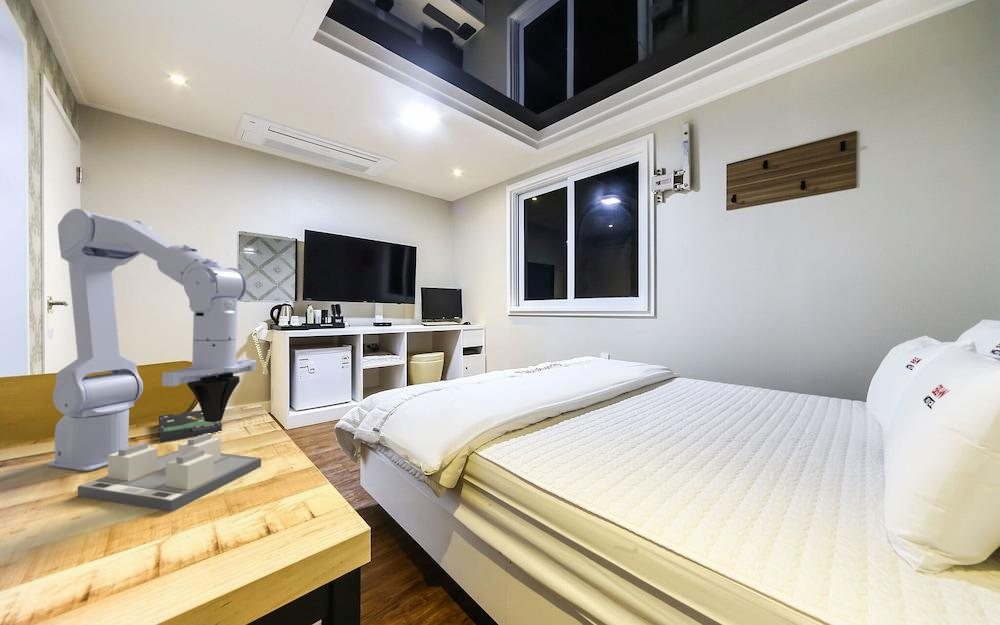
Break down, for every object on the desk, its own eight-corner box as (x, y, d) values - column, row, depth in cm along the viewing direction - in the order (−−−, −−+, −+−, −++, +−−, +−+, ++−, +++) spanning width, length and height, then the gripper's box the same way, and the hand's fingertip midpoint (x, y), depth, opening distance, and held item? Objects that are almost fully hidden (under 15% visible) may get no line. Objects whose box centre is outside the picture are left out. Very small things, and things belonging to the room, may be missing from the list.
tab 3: (165, 486, 55) (165, 457, 54) (192, 474, 58) (193, 447, 58) (187, 489, 54) (188, 460, 54) (213, 477, 58) (214, 449, 58)
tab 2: (177, 465, 62) (178, 439, 61) (201, 455, 65) (201, 431, 65) (197, 467, 61) (198, 441, 61) (220, 458, 65) (220, 433, 65)
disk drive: (157, 427, 86) (160, 444, 75) (157, 415, 86) (160, 431, 75) (213, 419, 93) (223, 433, 82) (213, 408, 93) (223, 421, 82)
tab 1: (107, 477, 57) (108, 449, 57) (137, 466, 61) (138, 440, 60) (128, 480, 56) (128, 452, 56) (157, 469, 60) (157, 443, 60)
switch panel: (77, 496, 54) (77, 485, 54) (183, 456, 69) (183, 448, 69) (171, 511, 51) (171, 500, 51) (261, 466, 65) (261, 457, 65)
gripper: (190, 344, 53) (188, 438, 53) (271, 337, 67) (269, 410, 67) (151, 342, 54) (149, 433, 54) (238, 335, 69) (236, 407, 69)
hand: (213, 420), depth 61 cm, fingers closed
